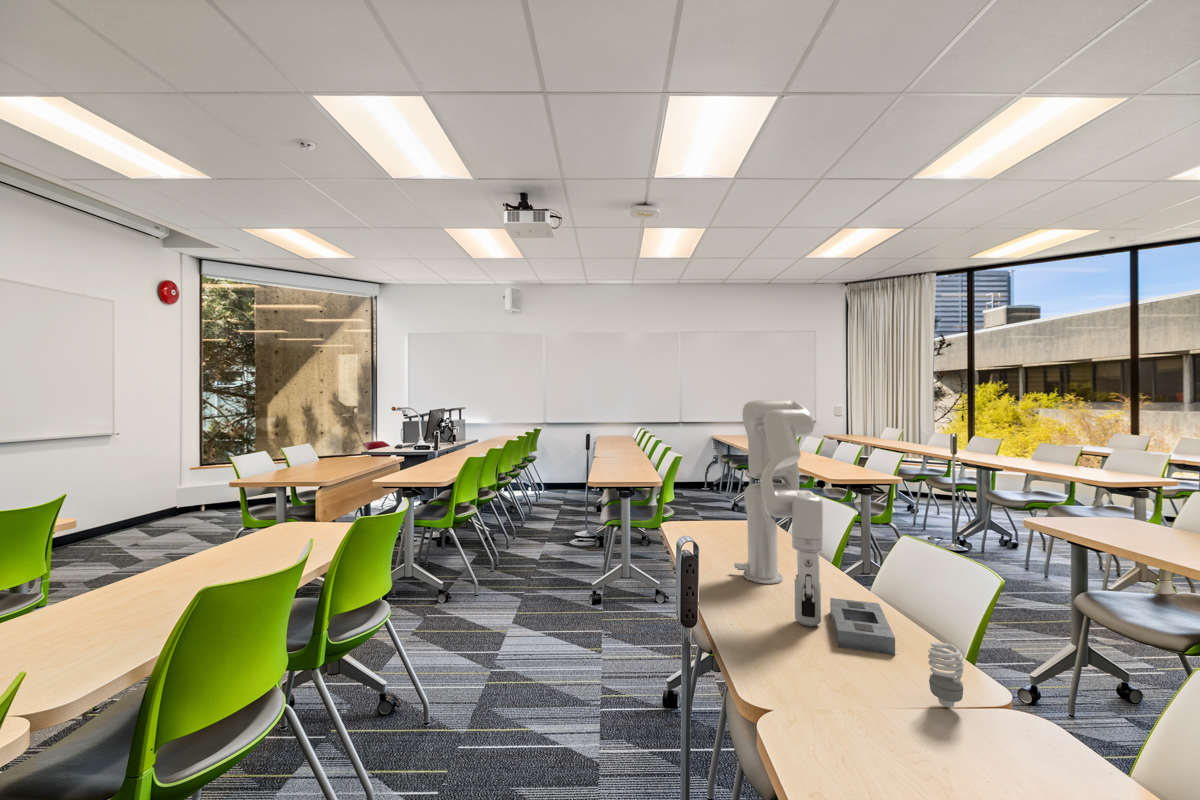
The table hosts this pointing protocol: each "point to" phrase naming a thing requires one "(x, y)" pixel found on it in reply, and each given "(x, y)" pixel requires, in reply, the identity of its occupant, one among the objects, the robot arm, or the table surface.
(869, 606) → the gray slotted block
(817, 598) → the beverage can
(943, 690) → the light bulb
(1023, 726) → the table surface
